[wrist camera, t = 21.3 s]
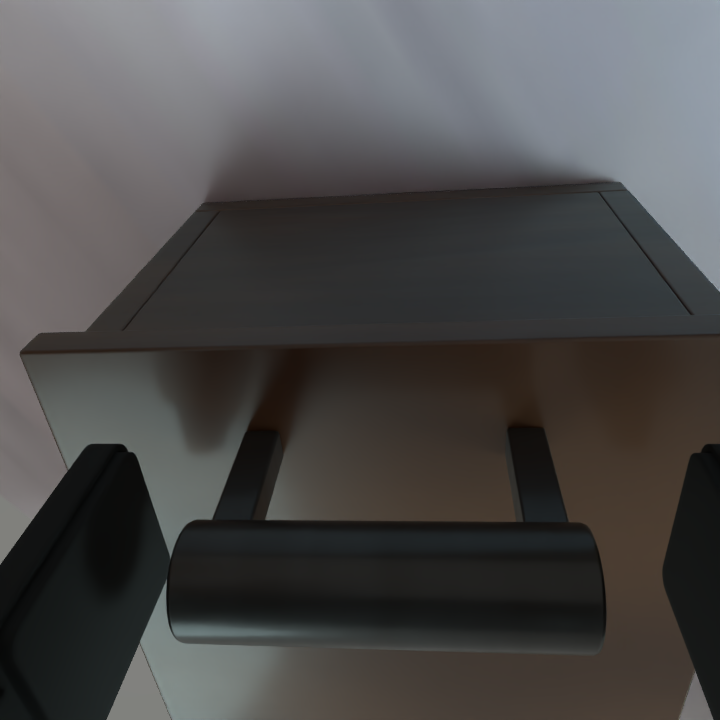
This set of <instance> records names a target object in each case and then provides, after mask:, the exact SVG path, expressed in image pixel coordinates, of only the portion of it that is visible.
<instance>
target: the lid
mask: <svg viewBox="0 0 720 720" xmlns="http://www.w3.org/2000/svg"><path fill="white" fill-rule="evenodd" d="M20 357H21V359H22V362H23V364H24V367H25V369H26V371H27V374H28V376H29V379H30V381H31V383H32V386H33V388H34V391H35V393H36V395H37V398H38V400H39V403H40V405H41V407H42V410H43V412H44V415H45V417H46V419H47V422H48V424H49V427H50V429H51V431H52V434H53V436H54V439H55V441H56V444H57V446H58V448H59V451H60V453H61V456H62V458H63V460H64V463H65V465H66V468H67V470H69V469H70V467H71V466H72V465H73V463H74V462H75V460H76V459H77V458H78V456H79V455H80V454H81V452H82V451H83V449H84V448H85V447H86V446H87V445H89V444H123V445H124V446H125V447H126V448H127V450H128V452H133V453H134V454H135V455H136V456H137V459H138V462H139V465H140V468H141V471H142V474H143V477H144V480H145V483H146V486H147V489H148V492H149V495H150V498H151V501H152V504H153V507H154V510H155V513H156V516H157V519H158V522H159V525H160V528H161V531H162V534H163V537H164V540H165V543H166V546H167V549H168V552H169V555H170V564H169V569H168V576H167V580H166V582H165V585H164V587H163V589H162V592H161V594H160V596H159V599H158V601H157V603H156V606H155V608H154V610H153V613H152V615H151V617H150V620H149V622H148V624H147V627H146V629H145V631H144V633H143V636H142V638H141V640H140V646H141V648H142V650H143V653H144V655H145V658H146V660H147V662H148V665H149V667H150V670H151V672H152V674H153V677H154V679H155V681H156V684H157V686H158V689H159V691H160V694H161V696H162V698H163V701H164V703H165V706H166V708H167V711H168V713H169V715H170V718H171V720H679V718H680V715H681V712H682V709H683V706H684V703H685V700H686V697H687V694H688V691H689V688H690V685H691V682H692V679H693V676H694V673H695V669H694V666H693V663H692V661H691V658H690V655H689V653H688V650H687V647H686V645H685V642H684V639H683V637H682V634H681V631H680V629H679V626H678V623H677V621H676V618H675V615H674V613H673V610H672V607H671V605H670V602H669V599H668V597H667V594H666V591H665V588H664V584H663V577H662V568H663V563H664V559H665V555H666V551H667V547H668V543H669V539H670V535H671V531H672V527H673V523H674V519H675V515H676V511H677V507H678V503H679V499H680V495H681V490H682V486H683V482H684V478H685V474H686V470H687V466H688V462H689V459H690V456H691V455H692V454H693V453H701V450H702V448H703V447H704V445H706V444H720V314H711V315H675V316H638V317H602V318H565V319H529V320H492V321H456V322H419V323H383V324H347V325H310V326H274V327H237V328H201V329H164V330H128V331H91V332H55V333H40V334H38V335H37V336H36V337H35V338H34V339H32V340H31V341H30V342H29V343H28V344H27V345H26V346H25V347H24V348H23V349H22V350H21V351H20Z"/></svg>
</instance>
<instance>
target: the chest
mask: <svg viewBox="0 0 720 720" xmlns="http://www.w3.org/2000/svg"><path fill="white" fill-rule="evenodd" d="M711 314H720V292H719V291H718V290H717V289H716V287H715V286H714V285H713V284H712V283H711V282H710V281H709V280H708V279H707V277H706V276H705V275H704V274H703V273H702V272H701V271H700V270H699V269H698V267H697V266H696V265H695V264H694V263H693V262H692V261H691V260H690V258H689V257H688V256H687V255H686V254H685V253H684V252H683V251H682V250H681V248H680V247H679V246H678V245H677V244H676V243H675V242H674V241H673V240H672V238H671V237H670V236H669V235H668V234H667V233H666V232H665V231H664V229H663V228H662V227H661V226H660V225H659V224H658V223H657V222H656V221H655V219H654V218H653V217H652V216H651V215H650V214H649V213H648V212H647V211H646V209H645V208H644V207H643V206H642V205H641V204H640V203H639V202H638V201H637V199H636V198H635V197H634V196H633V195H632V194H631V193H630V192H629V191H628V190H627V189H626V188H625V187H624V186H623V184H622V183H620V182H615V183H595V184H575V185H555V186H535V187H516V188H496V189H476V190H456V191H436V192H416V193H396V194H376V195H357V196H337V197H317V198H297V199H277V200H257V201H237V202H217V203H203V204H201V206H200V207H199V208H198V209H197V210H196V211H195V212H194V213H193V214H192V215H191V216H190V218H189V219H188V220H187V221H186V222H185V223H184V224H183V225H182V226H181V227H180V229H179V230H178V231H177V232H176V233H175V234H174V235H173V236H172V237H171V238H170V239H169V241H168V242H167V243H166V244H165V245H164V246H163V247H162V248H161V249H160V250H159V251H158V253H157V254H156V255H155V256H154V257H153V258H152V259H151V260H150V261H149V262H148V263H147V265H146V266H145V267H144V268H143V269H142V270H141V271H140V272H139V273H138V274H137V276H136V277H135V278H134V279H133V280H132V281H131V282H130V283H129V284H128V285H127V286H126V288H125V289H124V290H123V291H122V292H121V293H120V294H119V295H118V296H117V297H116V298H115V300H114V301H113V302H112V303H111V304H110V305H109V306H108V307H107V308H106V309H105V311H104V312H103V313H102V314H101V315H100V316H99V317H98V318H97V319H96V320H95V321H94V323H93V324H92V325H91V326H90V327H89V328H88V329H87V330H86V331H85V332H91V331H128V330H164V329H201V328H237V327H274V326H310V325H347V324H383V323H419V322H456V321H492V320H529V319H565V318H602V317H638V316H675V315H711Z"/></svg>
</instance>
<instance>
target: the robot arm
mask: <svg viewBox="0 0 720 720" xmlns="http://www.w3.org/2000/svg"><path fill="white" fill-rule="evenodd" d="M169 564H170V555H169V552H168V549H167V546H166V543H165V540H164V537H163V534H162V531H161V528H160V525H159V522H158V519H157V516H156V513H155V510H154V507H153V504H152V501H151V498H150V495H149V492H148V489H147V486H146V483H145V480H144V477H143V474H142V471H141V468H140V465H139V462H138V459H137V456H136V455H135V454H134V453H133V452H128V450H127V448H126V447H125V446H124V445H123V444H89V445H87V446H86V447H85V448H84V449H83V451H82V452H81V454H80V455H79V456H78V458H77V459H76V460H75V462H74V463H73V465H72V466H71V467H70V469H69V470H68V472H67V473H66V474H65V476H64V477H63V478H62V480H61V481H60V483H59V484H58V485H57V487H56V488H55V490H54V491H53V492H52V494H51V495H50V497H49V498H48V499H47V501H46V502H45V503H44V505H43V506H42V508H41V509H40V510H39V512H38V513H37V515H36V516H35V517H34V519H33V520H32V522H31V523H30V524H29V526H28V527H27V528H26V530H25V531H24V533H23V534H22V535H21V537H20V538H19V540H18V541H17V542H16V544H15V545H14V547H13V548H12V549H11V551H10V552H9V554H8V555H7V556H6V558H5V559H4V561H3V562H2V563H1V565H0V720H106V719H107V717H108V715H109V712H110V710H111V708H112V705H113V703H114V700H115V698H116V696H117V694H118V691H119V689H120V687H121V684H122V682H123V680H124V678H125V675H126V673H127V670H128V668H129V666H130V664H131V661H132V659H133V657H134V654H135V652H136V650H137V647H138V645H139V643H140V640H141V638H142V636H143V633H144V631H145V629H146V627H147V624H148V622H149V620H150V617H151V615H152V613H153V610H154V608H155V606H156V603H157V601H158V599H159V596H160V594H161V592H162V589H163V587H164V585H165V582H166V580H167V576H168V569H169ZM662 577H663V584H664V588H665V591H666V594H667V597H668V599H669V602H670V605H671V607H672V610H673V613H674V615H675V618H676V621H677V623H678V626H679V629H680V631H681V634H682V637H683V639H684V642H685V645H686V647H687V650H688V653H689V655H690V658H691V661H692V663H693V666H694V669H695V671H696V674H697V677H698V679H699V682H700V684H701V687H702V690H703V692H704V695H705V698H706V700H707V703H708V706H709V708H710V711H711V714H712V716H713V719H714V720H720V444H706V445H704V447H703V448H702V450H701V453H693V454H692V455H691V456H690V459H689V462H688V466H687V470H686V474H685V478H684V482H683V486H682V490H681V495H680V499H679V503H678V507H677V511H676V515H675V519H674V523H673V527H672V531H671V535H670V539H669V543H668V547H667V551H666V555H665V559H664V563H663V568H662Z"/></svg>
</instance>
